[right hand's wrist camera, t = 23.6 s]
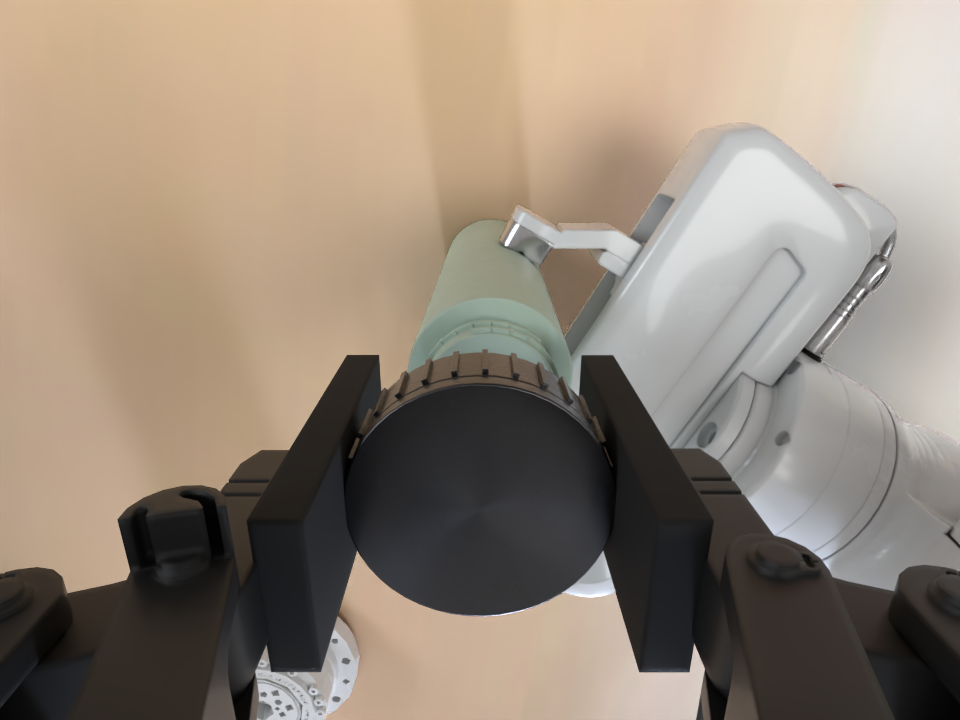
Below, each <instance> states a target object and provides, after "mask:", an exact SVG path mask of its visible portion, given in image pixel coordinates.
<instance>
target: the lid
mask: <svg viewBox="0 0 960 720" xmlns="http://www.w3.org/2000/svg"><path fill="white" fill-rule="evenodd" d="M607 445H608V444H607V442H606V439H605V437H604V434H603V432H602V430H601V427H600V425H599V422H598V420H597V418H596V416H593V417H592V415H591V413H590V410H589V408H588V405H587V403H586V400H585V398H584V397H583V395H582V394H581V395H580V396H578V395H577V394H576V393H575V392H574V391H573V390H572V389H571V388H570V387H569V386H568V383H567V380H566V378H564V377H563V376H562V377H561V378H560V379H559V378H558V377H557V376H556V375H554V374H553V373H551V372H549V371H548V370H546V369H544V366H543V364H542V363H540V362H538V363H537V365H536V364H534V363H531V362H529V361H527V360H524V359H520V358H517V354H515V353H511V355H503V354H497V353H488V349H482V352H475V353H463V354H459V351H454V352H453V355H452V356H447V357H443V358H440V359H437V360H434V361H432V359H431V358H430V359H427V360H426V362H425V364H424V365H422V366H420V367H418V368H416V369H414V370H412V371H411V372H410V373H407V371H404V372H403V373H402V374H401V377H400V379H399V380H398V381H397V382H396V383H395V384H394V385H393V386H392V387H390V388H389V389H388V390H387V389H386V388H384V389H383V390H382V391H381V394H380V396H379V399H378V402H377V404H376V406H375V407H374V409H373V410H371V409H368V411H367V413H366V415H365V418H364V420H363V422H362V425H361V427H360V430H359V432H358V434H357V437H356V439H355V442H354V444H353V446H352V449H351V451H350V454H349V456H348V459H347V462H349V463H350V465H349V468H348V472H347V476H346V480H345V487H344V499H345V510H346V520H347V527H348V530H349V533H350V535H351V538H352V541H353V543H354V545H355V547H356V549H357V550H358V552H359V554H360V556H361V557H362V559H363V560H364V561H365V563H366V564H367V565H368V567H369V568H370V569H371V570H372V571H373V572H374V573H375V574H376V575H377V576H378V578H379V579H381V580H382V581H383V582H384V583H385V584H387V585H388V586H389V587H390V588H392V589H393V590H395V591H396V592H398V593H399V594H401V595H402V596H404V597H406V598H408V599H410V600H412V601H414V602H416V603H418V604H420V605H423V606H426V607H428V608H431V609H434V610H437V611H442V612H446V613H450V614H456V615H464V616H496V615H504V614H510V613H515V612H519V611H523V610H526V609H530V608H533V607H535V606H538V605H540V604H542V603H545V602H547V601H549V600H551V599H553V598H554V597H556V596H558V595H560V594H562V593H563V592H564V591H566V590H567V589H569V588H570V587H571V586H573V585H574V584H575V583H576V582H577V581H579V580H580V579H581V578H582V577H583V576H584V575H585V574H586V573H587V572H588V571H589V569H590V568H591V567H592V566H593V565H594V564H595V562H596V561H597V559H598V558H599V556H600V555H601V553H602V551H603V550H604V548H605V546H606V544H607V541H608V539H609V537H610V535H611V531H612V528H613V524H614V514H615V503H616V483H615V478H614V473H613V470H612V467H613V466H612V463H611V461H610V458H609V456H608V453H607V451H606V448H605V446H607Z"/></svg>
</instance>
